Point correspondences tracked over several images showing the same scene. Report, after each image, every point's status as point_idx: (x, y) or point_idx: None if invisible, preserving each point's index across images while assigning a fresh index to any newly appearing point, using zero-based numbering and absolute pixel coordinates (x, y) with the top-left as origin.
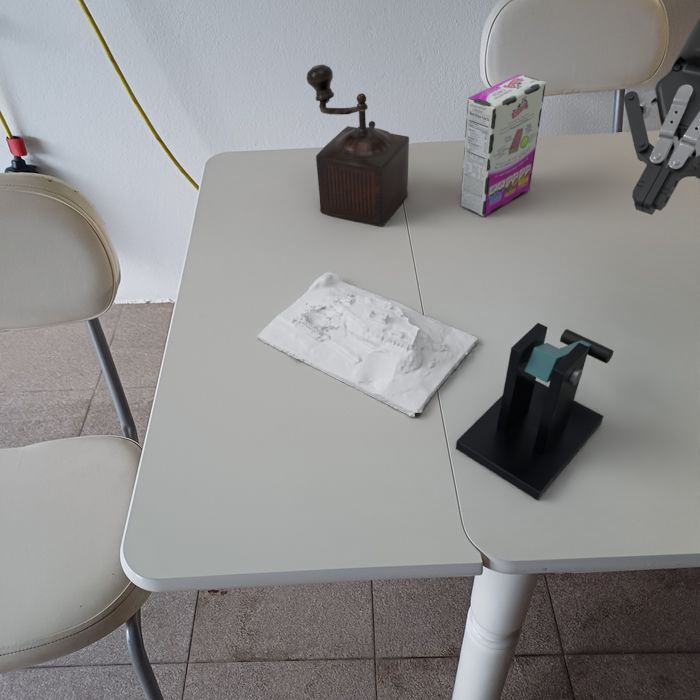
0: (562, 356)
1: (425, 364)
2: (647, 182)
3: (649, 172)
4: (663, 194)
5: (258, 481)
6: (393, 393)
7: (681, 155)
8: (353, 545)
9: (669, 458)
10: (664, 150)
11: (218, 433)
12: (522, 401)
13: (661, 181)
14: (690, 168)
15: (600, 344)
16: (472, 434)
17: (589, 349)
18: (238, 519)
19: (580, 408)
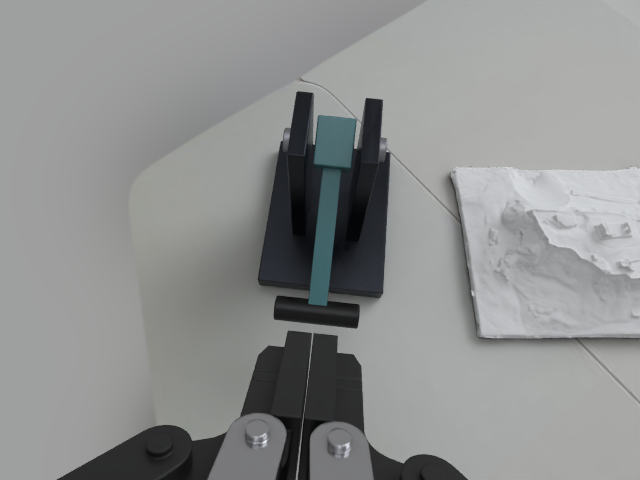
0: (316, 137)
1: (499, 227)
2: (328, 371)
3: (341, 417)
4: (266, 368)
5: (514, 39)
6: (496, 174)
7: (246, 461)
8: (398, 35)
9: (168, 278)
10: (323, 467)
11: (594, 56)
12: (350, 200)
13: (285, 381)
14: (200, 446)
15: (296, 314)
16: (380, 168)
17: (308, 299)
18: (495, 8)
19: (289, 275)
